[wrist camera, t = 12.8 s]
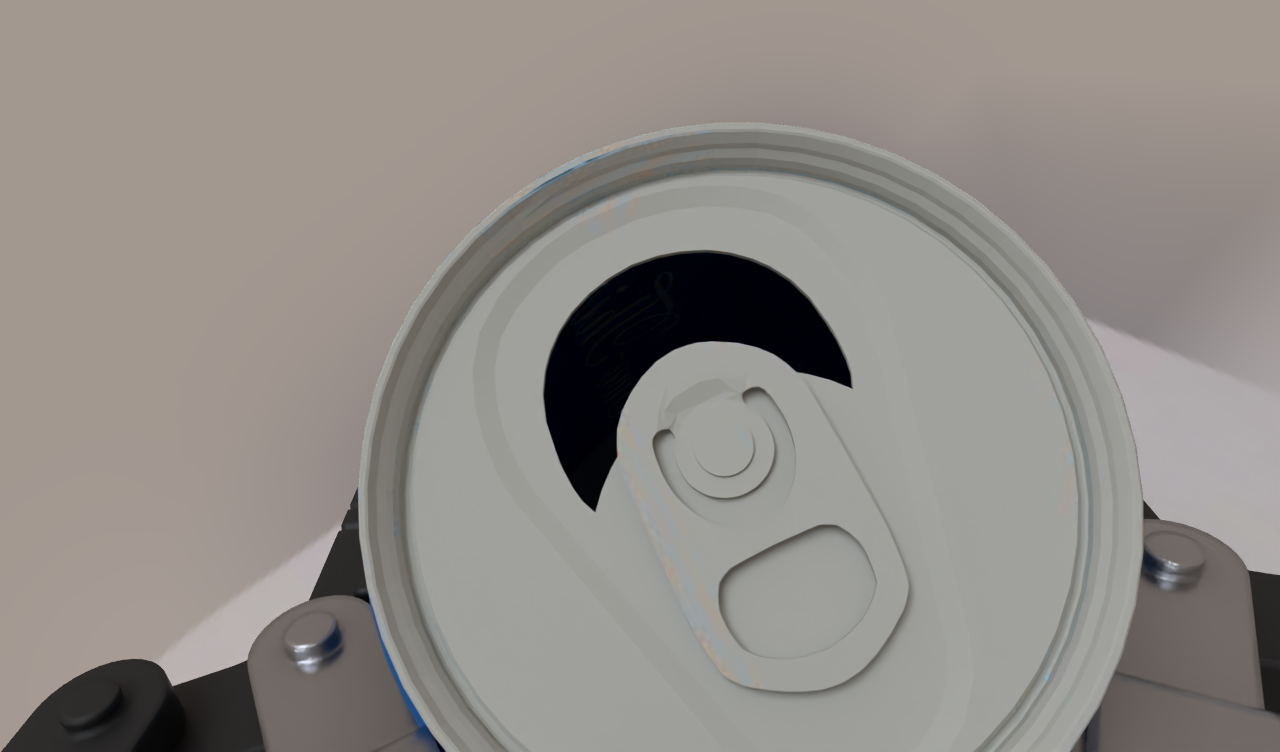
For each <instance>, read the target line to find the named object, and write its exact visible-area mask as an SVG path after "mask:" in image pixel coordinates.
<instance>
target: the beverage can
mask: <svg viewBox="0 0 1280 752" xmlns="http://www.w3.org/2000/svg"><path fill="white" fill-rule="evenodd" d="M358 507H359V539H360V545H361V552H362V558H363V565H364V571H365V578H366V584H367V589H368V594H369V600H370V607H371V611H372V615H373V618H374V622H375V625H376V628H377V632H378V635H379V639H380V642H381V646H382V649H383V652H384V656H385V659H386V661H387V663H388V666H389V668H390V670H391V672H392V675H393V677H394V679H395V681H396V684H397V686H398V688H399V691H400V693H401V695H402V697H403V700H404V702H405V704H406V706H407V708H408V709H409V711H410V713H411V714H412V716H413V717H414V719H415V721H416V722H417V724H418V726H419V727H422V726H424V725H427V727H428V728H429V730H430V732H431V733H432V735H433V737H434V739H435V741H436V744H437V746H438V748H439V750H440V752H1071V750H1072V749H1073V747H1074V746H1075V744H1076V743H1077V741H1078V739H1079V738H1080V736H1081V735H1082V733H1083V732H1084V730H1085V728H1086V727H1087V725H1088V724H1089V722H1090V721H1091V719H1092V717H1093V716H1094V714H1095V713H1096V711H1097V710H1098V708H1099V706H1100V704H1101V702H1102V699H1103V697H1104V695H1105V693H1106V690H1107V688H1108V686H1109V684H1110V681H1111V679H1112V677H1113V675H1114V672H1115V670H1116V668H1117V666H1118V663H1119V661H1120V659H1121V657H1122V653H1123V649H1124V646H1125V642H1126V639H1127V635H1128V632H1129V628H1130V625H1131V621H1132V618H1133V614H1134V611H1135V607H1136V602H1137V595H1138V588H1139V580H1140V573H1141V566H1142V558H1143V493H1142V485H1141V478H1140V471H1139V463H1138V456H1137V449H1136V444H1135V440H1134V437H1133V433H1132V429H1131V426H1130V422H1129V419H1128V415H1127V411H1126V408H1125V404H1124V400H1123V397H1122V394H1121V392H1120V389H1119V387H1118V385H1117V382H1116V380H1115V377H1114V375H1113V373H1112V370H1111V368H1110V365H1109V363H1108V361H1107V358H1106V356H1105V354H1104V351H1103V349H1102V347H1101V345H1100V344H1099V342H1098V340H1097V338H1096V337H1095V335H1094V333H1093V331H1092V330H1091V328H1090V326H1089V324H1088V323H1087V321H1086V319H1085V318H1084V316H1083V314H1082V312H1081V311H1080V309H1079V307H1078V305H1077V304H1076V303H1075V301H1074V300H1073V299H1072V297H1071V296H1070V295H1069V293H1068V292H1067V291H1066V289H1065V288H1064V287H1063V286H1062V284H1061V283H1060V282H1059V280H1058V279H1057V277H1056V276H1055V275H1054V273H1053V272H1052V271H1051V270H1050V268H1049V267H1048V265H1047V264H1046V263H1045V262H1043V260H1042V259H1041V258H1040V257H1038V255H1037V254H1036V253H1035V252H1034V251H1033V250H1032V249H1031V248H1030V247H1029V246H1028V245H1027V244H1026V243H1025V242H1024V240H1023V239H1021V237H1020V236H1019V235H1018V234H1017V233H1016V232H1015V231H1014V230H1013V229H1012V228H1010V227H1009V226H1008V225H1007V224H1005V223H1004V222H1003V221H1002V220H1001V219H999V218H998V217H997V216H996V215H994V214H993V213H992V212H991V211H990V210H988V209H987V208H986V207H985V206H983V205H982V204H981V203H980V202H979V201H977V200H976V199H975V198H973V197H971V196H970V195H968V194H967V193H965V192H964V191H962V190H960V189H959V188H957V187H956V186H954V185H953V184H951V183H950V182H948V181H946V180H945V179H943V178H942V177H940V176H938V175H937V174H936V173H933V172H932V171H929V170H927V169H925V168H923V167H921V166H919V165H917V164H915V163H913V162H911V161H909V160H907V159H905V158H903V157H900V156H898V155H896V154H894V153H892V152H889V151H886V150H884V149H881V148H878V147H875V146H872V145H869V144H866V143H863V142H861V141H857V140H855V139H852V138H849V137H845V136H840V135H836V134H832V133H827V132H822V131H818V130H813V129H809V128H805V127H797V126H787V125H777V124H768V123H758V122H751V123H708V124H700V125H692V126H684V127H677V128H669V129H664V130H660V131H656V132H652V133H648V134H644V135H640V136H636V137H632V138H628V139H624V140H621V141H618V142H616V143H613V144H610V145H608V146H605V147H603V148H600V149H597V150H595V151H592V152H589V153H587V154H584V155H581V156H579V157H578V158H576V159H574V160H572V161H570V162H568V163H566V164H564V165H562V166H560V167H558V168H556V169H555V170H553V171H551V172H549V173H547V174H545V175H543V176H541V177H540V178H538V179H537V180H535V181H534V182H532V183H531V184H529V185H528V186H526V187H525V188H524V189H522V190H521V191H519V192H518V193H516V194H515V195H513V196H512V197H510V198H509V199H507V200H506V201H505V202H503V203H502V204H501V205H500V206H499V207H498V208H496V209H495V210H494V211H493V212H492V213H491V214H490V215H488V216H487V217H486V218H485V219H484V220H483V221H482V222H480V223H479V224H478V225H477V226H476V227H475V228H474V229H473V230H471V231H470V232H469V233H468V234H467V236H466V237H465V238H464V239H463V240H462V241H461V242H460V243H459V245H458V246H457V247H456V248H455V249H454V250H453V251H452V252H451V254H450V255H449V256H448V257H447V258H446V259H445V260H444V261H443V262H442V263H441V265H440V266H439V267H438V269H437V270H436V271H435V273H434V274H433V276H432V277H431V279H430V280H429V281H428V283H427V284H426V286H425V287H424V289H423V290H422V292H421V293H420V295H419V296H418V297H417V299H416V300H415V302H414V303H413V305H412V307H411V308H410V311H409V312H408V314H407V316H406V318H405V320H404V322H403V324H402V326H401V328H400V329H399V331H398V333H397V335H396V337H395V339H394V341H393V343H392V345H391V347H390V350H389V352H388V355H387V358H386V361H385V363H384V366H383V369H382V371H381V374H380V376H379V379H378V382H377V385H376V387H375V390H374V394H373V398H372V402H371V406H370V411H369V415H368V419H367V423H366V428H365V432H364V436H363V444H362V454H361V463H360V473H359V482H358Z"/></svg>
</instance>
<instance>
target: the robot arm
mask: <svg viewBox="0 0 1280 752" xmlns="http://www.w3.org/2000/svg"><path fill="white" fill-rule="evenodd" d="M350 506H351V509H350V510H348V511H347V514H346V516H345V518H344V520H343V523H342V525H341V527H342V531H339V532H338V534H337V537H336V539H335V541H334V544H333V546H332V548H331V551H330V553H329V555H328V557H327V560H326V562H325V564H324V567H323V569H322V571H321V574H320V576H319V578H318V581H317V583H316V585H315V588H314V590H313V592H312V594H311V597H310V599H309V601H307V602H304V603H302V604H300V605H297V606H295V607H293V608H291V609H290V610H288V611H286V612H285V613H283V614H281V615H280V616H279V617H277V618H276V619H275V620H273V621H272V622H271V623H270V624H269V625H268V626H267V627H266V628H264V630H263V631H262V632H261V633H260V634H259V636H258V637H257V638H256V640H255V641H254V643H253V645H252V647H251V649H250V652H249V655H248V660H247V661H245V662H242V663H240V664H237V665H235V666H232V667H229V668H226V669H223V670H220V671H217V672H214V673H211V674H208V675H205V676H202V677H199V678H196V679H193V680H190V681H187V682H184V683H181V684H178V685H176V686H173V687H172V685H171V683H170V681H169V679H168V677H167V675H166V673H165V672H164V670H163V669H162V668H161V667H160V666H159V665H157V664H156V663H154V662H151V661H147V660H142V659H129V660H121V661H116V662H111V663H108V664H105V665H102V666H99V667H97V668H94V669H92V670H90V671H87V672H85V673H83V674H81V675H79V676H77V677H76V678H74V679H72V680H71V681H69V682H68V683H66V684H64V685H63V686H62V687H60V688H59V689H58V690H57V691H55V692H54V693H52V694H51V695H50V696H49V697H48V698H47V699H46V700H44V702H42V703H41V705H40V706H39V707H38V708H37V709H36V710H35V711H34V712H33V713H32V715H31V716H30V717H29V718H28V720H27V721H26V722H25V724H23V726H22V727H21V728H20V729H19V731H18V732H17V733H16V734H15V736H14V737H13V738H12V739H11V740H10V742H9V743H8V744H7V746H6V747H5V748H4V749H3V750H2V752H440V750H439V748H438V746H437V744H436V741H435V739H434V737H433V735H432V733H431V732H430V730H429V728H428V727H427V725H424V726H422V727H419V726H418V724H417V722H416V721H415V719H414V717H413V716H412V714H411V713H410V711H409V709H408V708H407V706H406V704H405V702H404V700H403V697H402V695H401V693H400V691H399V688H398V686H397V684H396V681H395V679H394V677H393V675H392V672H391V670H390V668H389V666H388V663H387V661H386V659H385V656H384V652H383V649H382V646H381V642H380V639H379V635H378V632H377V628H376V625H375V622H374V618H373V615H372V611H371V607H370V600H369V594H368V589H367V584H366V578H365V571H364V565H363V558H362V552H361V545H360V539H359V507H358V488H357V490H356V493H355V495H354V497H353V500H352V502H351V504H350ZM1071 752H1280V575H1274V574H1266V573H1260V572H1254V571H1249V570H1248V569H1247V568H1246V566H1245V564H1244V562H1243V561H1242V559H1241V558H1240V557H1239V556H1238V555H1237V553H1235V552H1234V551H1233V550H1232V549H1231V548H1230V547H1229V546H1227V545H1226V544H1224V543H1223V542H1222V541H1220V540H1219V539H1217V538H1215V537H1213V536H1211V535H1210V534H1208V533H1205V532H1203V531H1201V530H1198V529H1196V528H1193V527H1190V526H1187V525H1184V524H1180V523H1176V522H1172V521H1165V520H1160V519H1159V518H1158V516H1157V515H1156V514H1155V513H1154V512H1153V511H1152V510H1151V508H1150V507H1149V506H1148V505H1147V504H1146V503H1145V501H1144V500H1143V558H1142V566H1141V573H1140V580H1139V588H1138V595H1137V602H1136V607H1135V611H1134V614H1133V618H1132V621H1131V625H1130V628H1129V632H1128V635H1127V639H1126V642H1125V646H1124V649H1123V653H1122V657H1121V659H1120V661H1119V663H1118V666H1117V668H1116V670H1115V672H1114V675H1113V677H1112V679H1111V681H1110V684H1109V686H1108V688H1107V690H1106V693H1105V695H1104V697H1103V699H1102V702H1101V704H1100V706H1099V708H1098V710H1097V711H1096V713H1095V714H1094V716H1093V717H1092V719H1091V721H1090V722H1089V724H1088V725H1087V727H1086V728H1085V730H1084V732H1083V733H1082V735H1081V736H1080V738H1079V739H1078V741H1077V743H1076V744H1075V746H1074V747H1073V749H1072V750H1071Z"/></svg>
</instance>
